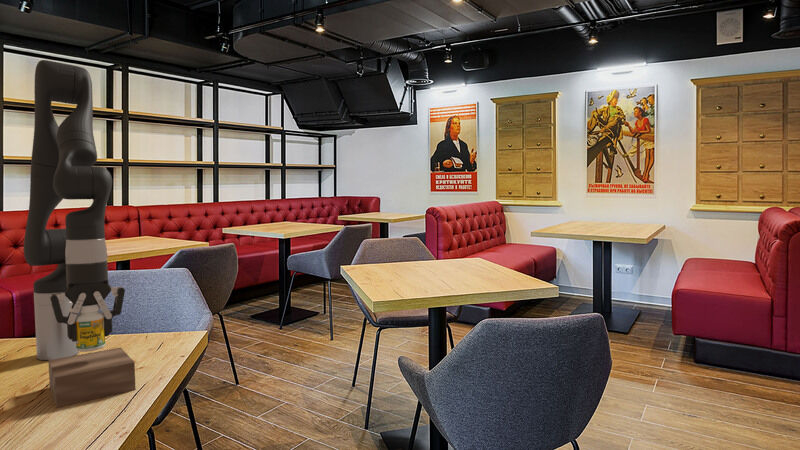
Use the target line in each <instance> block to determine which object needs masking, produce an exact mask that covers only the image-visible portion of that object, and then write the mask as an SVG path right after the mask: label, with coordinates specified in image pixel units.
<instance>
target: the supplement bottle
mask: <svg viewBox="0 0 800 450" xmlns="http://www.w3.org/2000/svg"><path fill="white" fill-rule="evenodd" d="M75 324H76V339H77V341H76V349H77V350H78V351H79V353H80V352H81V353H89V352H96V351H98V350H101V349H103V348H105V347H106V336H105V327H104V315H103V313H102V311H101V310H100V306H99V304H96V305H89V306H81V309H80V311H79V313H78V315H77V317H76V319H75Z"/></svg>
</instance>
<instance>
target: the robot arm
mask: <svg viewBox="0 0 800 450" xmlns="http://www.w3.org/2000/svg"><path fill="white" fill-rule="evenodd" d="M52 102H54V103H62V104H69V105H76V106H75V108H74V109H73V111H72V112H71V113H70V114H69V115H67V116H66V118H65V119H63V120H62V121H61V123H60V125H58V123H57V120H56V118H55V116H54V113H53V109H52ZM93 103H94V102H93V82H92V77H91V74H90V72H89V71H88V70H87V69H86V68H84V67H81V66H78V65H73V64H68V63H63V62H58V61H57V62H56V61H54V60H53V61H52V60H48V59H42V60H39V61H38V62H37V64H36V67H35V72H34V125H33V126H34V129H33V131H34V132H33V140H32V149H31V150H32V151H31V160H30V161H31V162H30V180H29V181H30V185H29V187H30V188H29V206H28V211H27V212H28V214H27V220H26V225H25V232H24V240H23V257H24V260H25V262H26V263H27V265H29V266H33V267H41V266H51V265H52V266H53V265H57V266H56V269H55V270H53V271H52V272H50V273H49V274H48V275H45V276H43V277H40V278H38V279H37V280H35V281H34V282H33V284H32V285H33V303H34V323H35V325H34V326H35V342H36V343H35V347H36V359H37V360H40V361H48V360H52V359H58V358H64V357H70V356H75V355H78V354H79V353H80V351H78V350H77V349H76V341H77V339H76V324H75V319H76V317H77V315H79V314H80V313H79V311H80V309H81V306H89V305H96V304H99V306H100V310H99V311H100V312H101V313H102V314H103V315H104V327H105V337H109V336H110V334H112V332H113V318H114V317H116V316H119V315H121V313H122V309H123V304H124V297H125V293H126V289H125V288H124V287H122V286H117V287H116V286H115V287H114V286H111V285H110V284H109V272H108V270H109V268H108V267H109V266H108V257H109V255H108V248H107V243H106V232H105V216H106V209H107V204H108V201H109V197H110V194H111V190H112V187H113V178H112V174H111V173H110V171H109V170H108V169H107V168H105V167H103V166H94V165H95V164H96V162H97V161H98V152H97V147H96V141H95V138H94V137H95V136H94V130H93V128H94V126H93V121H94V120H93V117H94V115H93V114H94V109H93V108H94V106H93ZM63 200H70V201H71V200H72V201H73V200H92V203H91V205H90V206H89V207H87V208H84V209H79V210H75V211H69V212H68V213H67V214H66V215H65V222H64V223H65V228H53V229H52V228H51V229H50V228H48V229H47V224H48V222H49V219H50V217H51V214H52V213H53V212H54V211H55V209H56V208H57V206H58V205H59V204H60V203H61V202H62V201H63ZM110 293H112V296H113V297H114V301H113V307H112V309H111V310H109V307H108V305H107V303H106V301H105V300H106V298H107V297H108V296H109V294H110Z"/></svg>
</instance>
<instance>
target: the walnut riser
mask: <svg viewBox="0 0 800 450" xmlns="http://www.w3.org/2000/svg"><path fill="white" fill-rule="evenodd" d="M47 361H48V377H49V378H48V380H49V389H50V393H51V395H52V396H53V400H54V403H55V406H56V408H62V407H66V406H70V405H74V404H78V402H79V403H83V401H84V402H86V401H87V400H88V401H91V400H97V399H102V398H105V397H110V396H114V395H117V394H123V393H128V392H132V391H136V390H137V389H136V370H135V369H136V368H135V361H134V360H133V359H132V358H131V357H130V356H129V355H128V353H127V352H126V351H125V350H124V349H123V348H122V347H117V348H116V347H115V348H110V349H105V350H104V349H103V350H99V351H98V350H97V351H91V352H86V353H82V354H76V355H73V356H70V357H64V358H58V359H52V360H47ZM88 401H87V402H88Z"/></svg>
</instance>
